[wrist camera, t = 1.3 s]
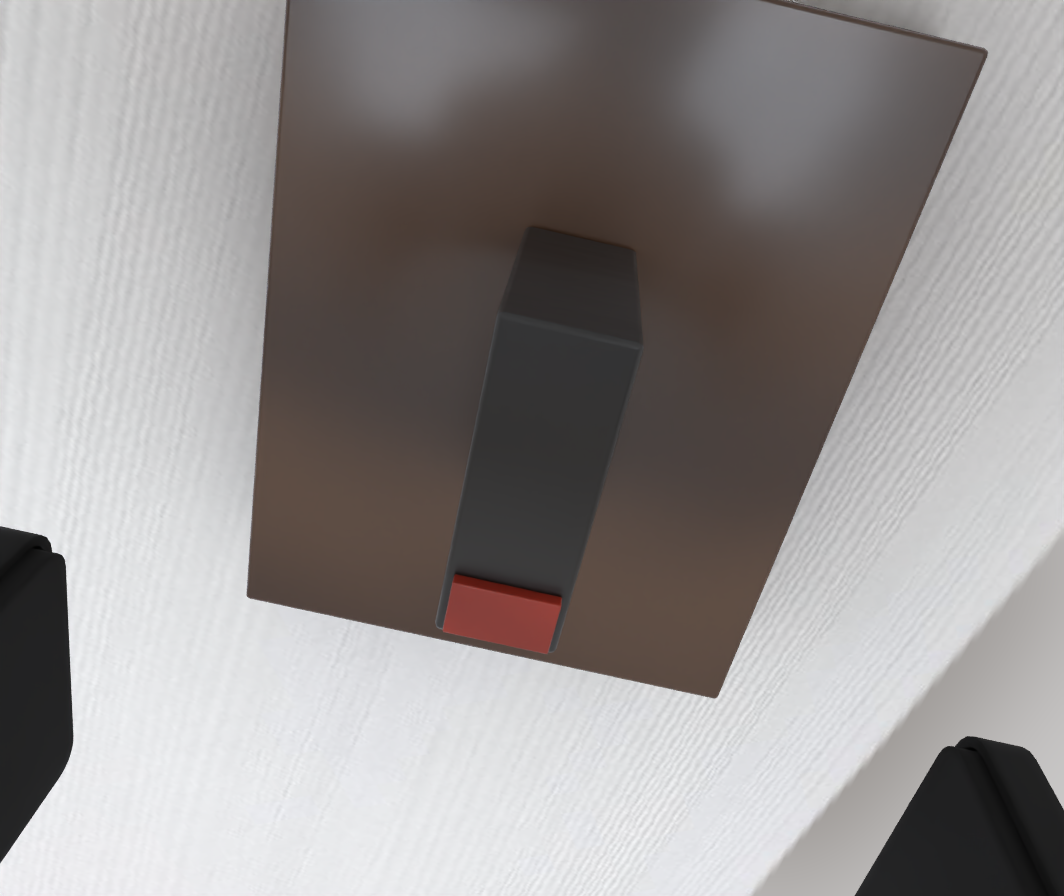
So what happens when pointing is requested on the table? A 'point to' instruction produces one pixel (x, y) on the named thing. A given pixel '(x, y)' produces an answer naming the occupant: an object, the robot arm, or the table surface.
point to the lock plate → (598, 215)
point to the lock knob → (542, 439)
